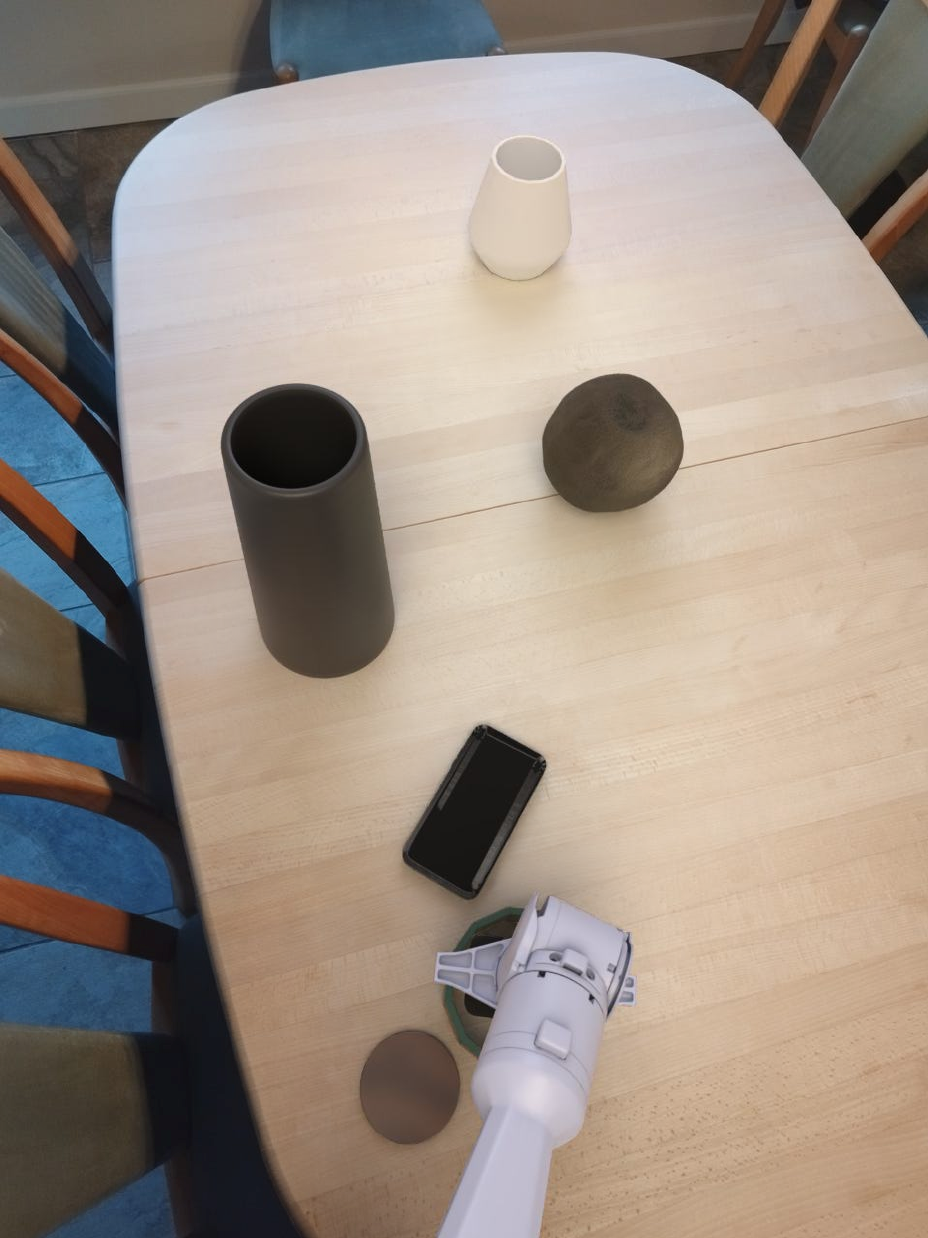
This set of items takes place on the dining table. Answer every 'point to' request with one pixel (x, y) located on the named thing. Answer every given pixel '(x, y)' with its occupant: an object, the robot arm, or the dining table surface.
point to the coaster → (409, 1087)
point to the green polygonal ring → (478, 926)
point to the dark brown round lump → (612, 444)
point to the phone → (474, 812)
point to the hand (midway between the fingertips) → (521, 987)
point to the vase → (309, 528)
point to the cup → (522, 209)
